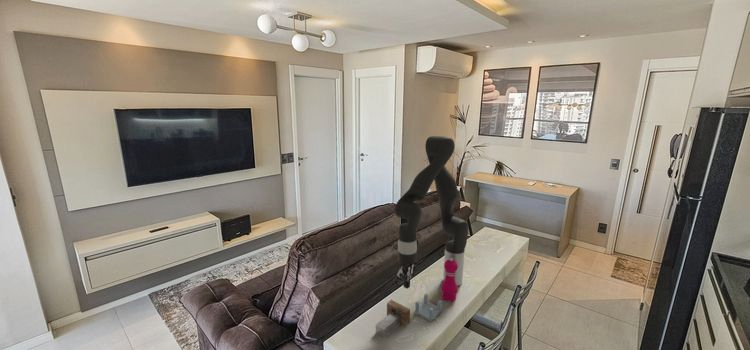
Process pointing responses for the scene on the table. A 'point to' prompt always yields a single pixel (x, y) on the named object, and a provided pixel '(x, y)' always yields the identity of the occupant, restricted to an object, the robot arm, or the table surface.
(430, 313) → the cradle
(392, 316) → the steel bar
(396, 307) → the wooden arch block
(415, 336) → the table surface
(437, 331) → the table surface
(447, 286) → the pepper mill
